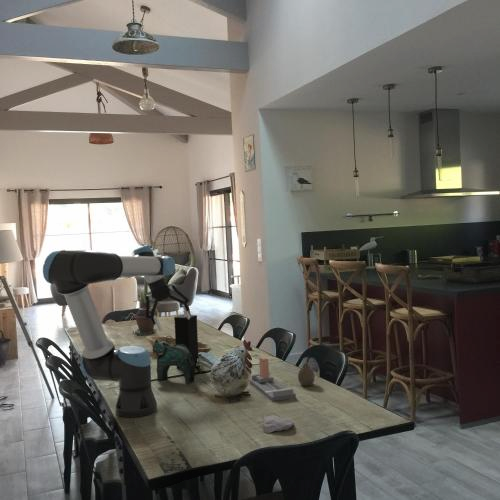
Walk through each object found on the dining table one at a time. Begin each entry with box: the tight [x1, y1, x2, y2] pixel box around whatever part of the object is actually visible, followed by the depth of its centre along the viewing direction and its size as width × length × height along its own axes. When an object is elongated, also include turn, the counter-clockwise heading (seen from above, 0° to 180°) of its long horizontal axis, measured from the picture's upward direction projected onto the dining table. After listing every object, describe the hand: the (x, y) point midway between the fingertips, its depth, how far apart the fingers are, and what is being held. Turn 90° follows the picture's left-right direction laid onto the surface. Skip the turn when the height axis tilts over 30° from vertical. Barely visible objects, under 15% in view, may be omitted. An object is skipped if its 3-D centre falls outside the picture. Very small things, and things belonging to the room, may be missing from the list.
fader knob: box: [256, 356, 274, 383], centre depth 231 cm, size 5×6×10 cm
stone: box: [263, 414, 295, 434], centre depth 184 cm, size 10×12×4 cm
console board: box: [249, 372, 297, 402], centre depth 224 cm, size 26×10×4 cm, turn 19°
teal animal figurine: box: [152, 335, 196, 384], centre depth 242 cm, size 20×6×20 cm, turn 62°
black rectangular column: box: [173, 309, 199, 370], centre depth 264 cm, size 8×8×28 cm
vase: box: [297, 363, 316, 387], centre depth 229 cm, size 7×7×9 cm
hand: (174, 324), depth 240 cm, fingers open, 13 cm apart
